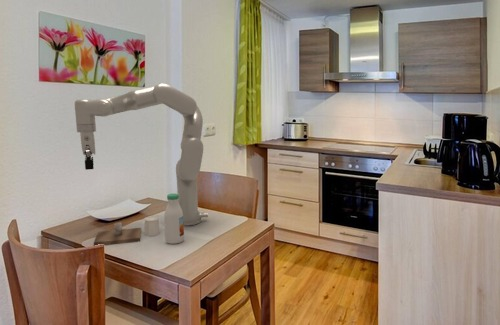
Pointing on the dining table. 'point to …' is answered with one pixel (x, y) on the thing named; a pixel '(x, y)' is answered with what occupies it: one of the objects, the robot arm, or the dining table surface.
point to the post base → (117, 239)
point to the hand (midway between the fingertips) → (89, 167)
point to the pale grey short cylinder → (152, 225)
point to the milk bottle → (173, 220)
